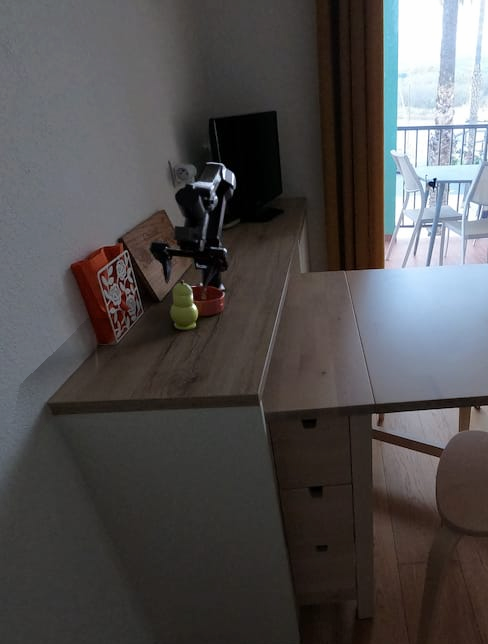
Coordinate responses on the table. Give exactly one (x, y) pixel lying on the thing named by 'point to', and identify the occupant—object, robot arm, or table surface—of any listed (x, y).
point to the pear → (183, 307)
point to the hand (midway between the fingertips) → (185, 284)
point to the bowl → (208, 300)
